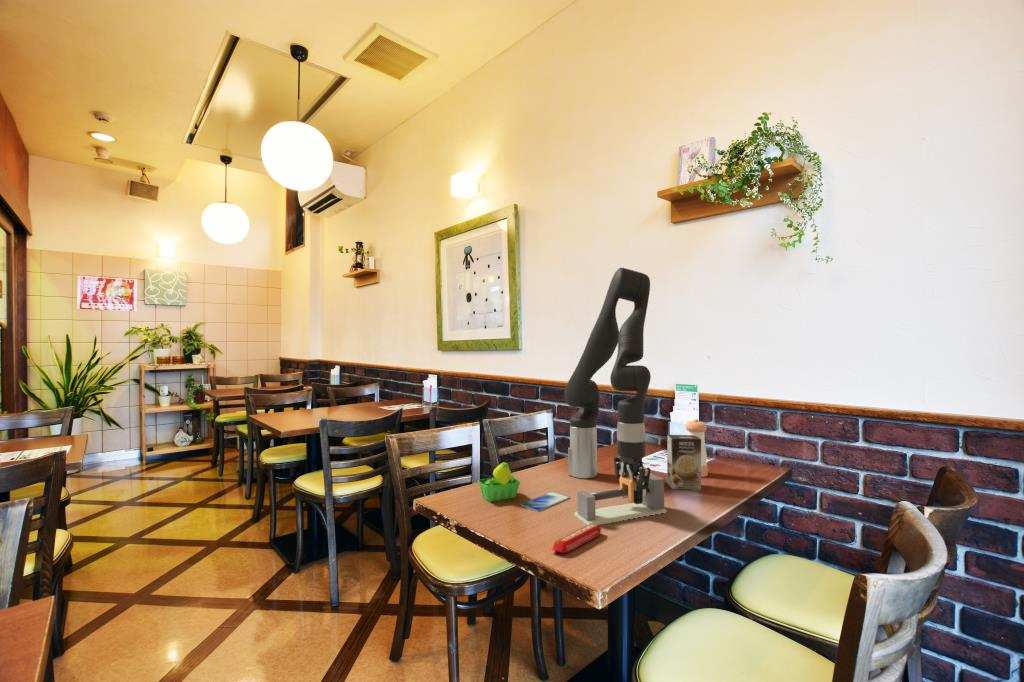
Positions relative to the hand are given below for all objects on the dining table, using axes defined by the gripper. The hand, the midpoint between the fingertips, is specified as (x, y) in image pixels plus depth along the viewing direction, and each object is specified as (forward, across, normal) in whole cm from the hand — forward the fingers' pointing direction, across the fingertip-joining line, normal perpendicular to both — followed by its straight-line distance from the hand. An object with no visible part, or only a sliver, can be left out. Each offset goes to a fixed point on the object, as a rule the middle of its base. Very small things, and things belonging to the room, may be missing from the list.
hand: (631, 499), depth 125 cm
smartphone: (+4, +16, +18) cm, 25 cm away
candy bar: (+4, -11, +23) cm, 26 cm away
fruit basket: (+4, +25, +30) cm, 39 cm away
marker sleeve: (0, 0, 0) cm, 0 cm away
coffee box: (+4, +12, -28) cm, 31 cm away
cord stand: (+3, 0, +4) cm, 5 cm away
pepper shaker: (+4, +21, -42) cm, 47 cm away
